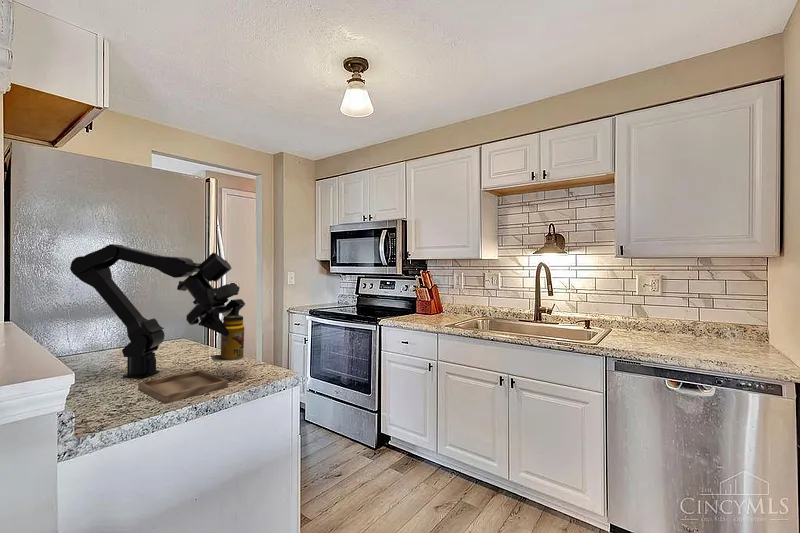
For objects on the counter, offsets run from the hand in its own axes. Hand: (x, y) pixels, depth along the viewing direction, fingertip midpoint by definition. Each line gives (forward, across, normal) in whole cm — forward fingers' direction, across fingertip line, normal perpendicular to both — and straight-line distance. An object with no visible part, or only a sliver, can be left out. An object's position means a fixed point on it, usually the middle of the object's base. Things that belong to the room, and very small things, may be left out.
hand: (234, 333), depth 111 cm
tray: (+4, -11, +14) cm, 18 cm away
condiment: (+4, 0, +6) cm, 8 cm away
